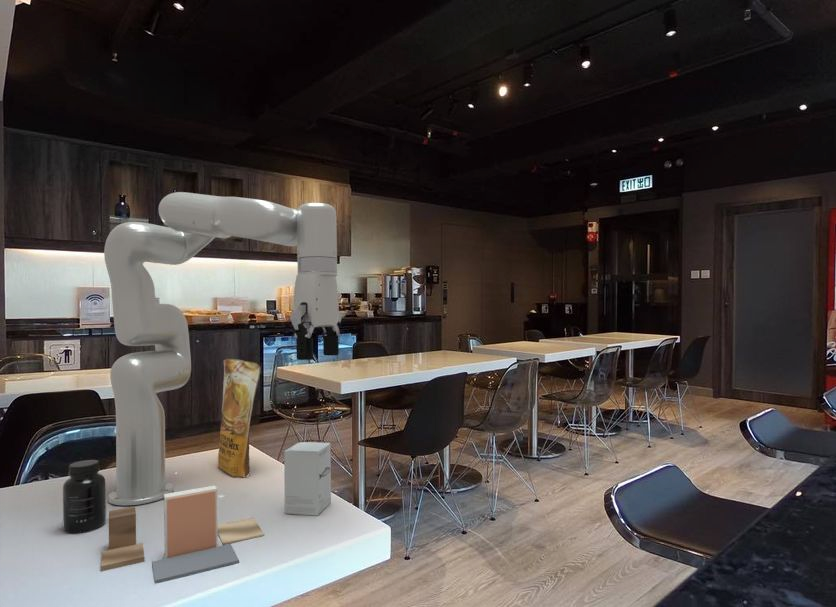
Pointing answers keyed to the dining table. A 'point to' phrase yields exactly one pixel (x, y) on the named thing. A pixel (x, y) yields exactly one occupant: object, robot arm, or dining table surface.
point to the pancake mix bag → (237, 415)
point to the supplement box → (307, 478)
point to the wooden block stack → (122, 540)
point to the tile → (190, 521)
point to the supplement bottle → (84, 497)
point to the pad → (239, 530)
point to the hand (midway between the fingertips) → (318, 357)
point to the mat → (193, 563)
